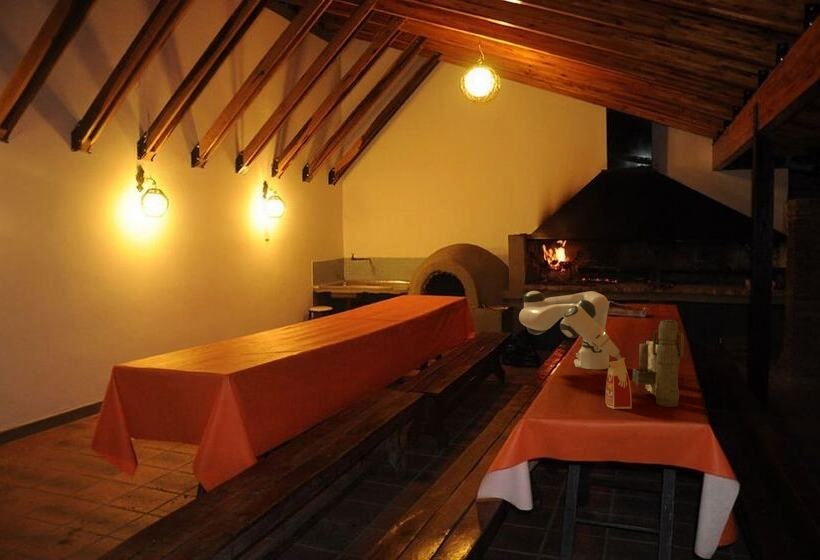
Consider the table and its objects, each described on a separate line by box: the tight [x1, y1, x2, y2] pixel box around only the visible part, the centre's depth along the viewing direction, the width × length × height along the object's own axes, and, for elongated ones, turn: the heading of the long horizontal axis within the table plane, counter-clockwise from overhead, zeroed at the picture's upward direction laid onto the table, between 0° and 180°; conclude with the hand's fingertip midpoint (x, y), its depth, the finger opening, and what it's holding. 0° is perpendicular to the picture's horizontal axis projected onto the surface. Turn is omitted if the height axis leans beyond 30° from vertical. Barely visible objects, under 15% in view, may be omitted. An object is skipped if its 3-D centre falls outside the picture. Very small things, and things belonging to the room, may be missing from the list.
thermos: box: [652, 318, 685, 408], centre depth 263 cm, size 9×12×35 cm
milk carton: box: [605, 357, 633, 410], centre depth 263 cm, size 9×9×20 cm
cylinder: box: [638, 343, 648, 372], centre depth 280 cm, size 4×4×16 cm
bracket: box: [632, 341, 658, 397], centre depth 280 cm, size 16×9×22 cm, turn 1°
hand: (617, 357), depth 279 cm, fingers open, 8 cm apart
